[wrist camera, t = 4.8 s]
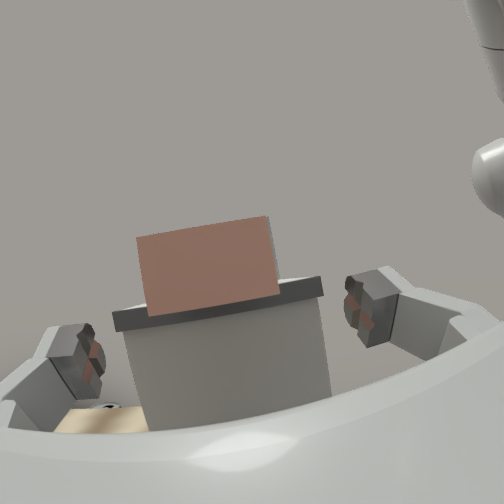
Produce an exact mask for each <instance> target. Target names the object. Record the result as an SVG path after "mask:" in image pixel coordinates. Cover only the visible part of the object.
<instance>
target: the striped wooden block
mask: <svg viewBox="0 0 504 504" xmlns="http://www.w3.org/2000/svg"><path fill="white" fill-rule="evenodd" d="M54 432H58V433H87V434H105V433H135V432H149V429H148V426H147V423H146V419H145V416H144V413H143V410H142V406H141V407H126V408H106V409H70V411H69V412H68V413H67V415H66V416H65V417H64V418H63V420H62V421H61V422H60V424H59V425H58V426H57V428H56V429H55V430H54Z"/></svg>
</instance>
